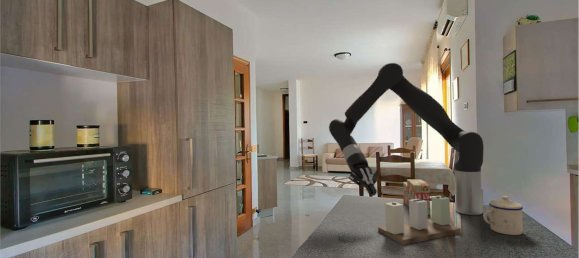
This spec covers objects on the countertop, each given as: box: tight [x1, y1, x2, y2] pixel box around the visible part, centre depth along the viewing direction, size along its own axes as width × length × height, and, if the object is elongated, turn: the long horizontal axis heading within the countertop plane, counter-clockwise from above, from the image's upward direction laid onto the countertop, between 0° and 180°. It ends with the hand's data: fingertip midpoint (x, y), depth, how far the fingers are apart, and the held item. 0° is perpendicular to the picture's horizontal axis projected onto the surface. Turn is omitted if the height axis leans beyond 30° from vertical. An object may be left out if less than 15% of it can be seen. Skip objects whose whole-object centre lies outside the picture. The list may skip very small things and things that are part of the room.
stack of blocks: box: [402, 178, 431, 216], centre depth 125 cm, size 21×6×12 cm, turn 169°
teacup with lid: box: [482, 195, 524, 236], centre depth 95 cm, size 12×9×12 cm
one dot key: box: [384, 201, 405, 234], centre depth 92 cm, size 4×4×9 cm
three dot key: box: [408, 199, 429, 230], centre depth 96 cm, size 4×4×9 cm
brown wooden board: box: [377, 217, 462, 246], centre depth 96 cm, size 24×12×2 cm, turn 110°
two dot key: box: [430, 195, 451, 225], centre depth 99 cm, size 4×4×9 cm
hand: (373, 194), depth 102 cm, fingers closed
